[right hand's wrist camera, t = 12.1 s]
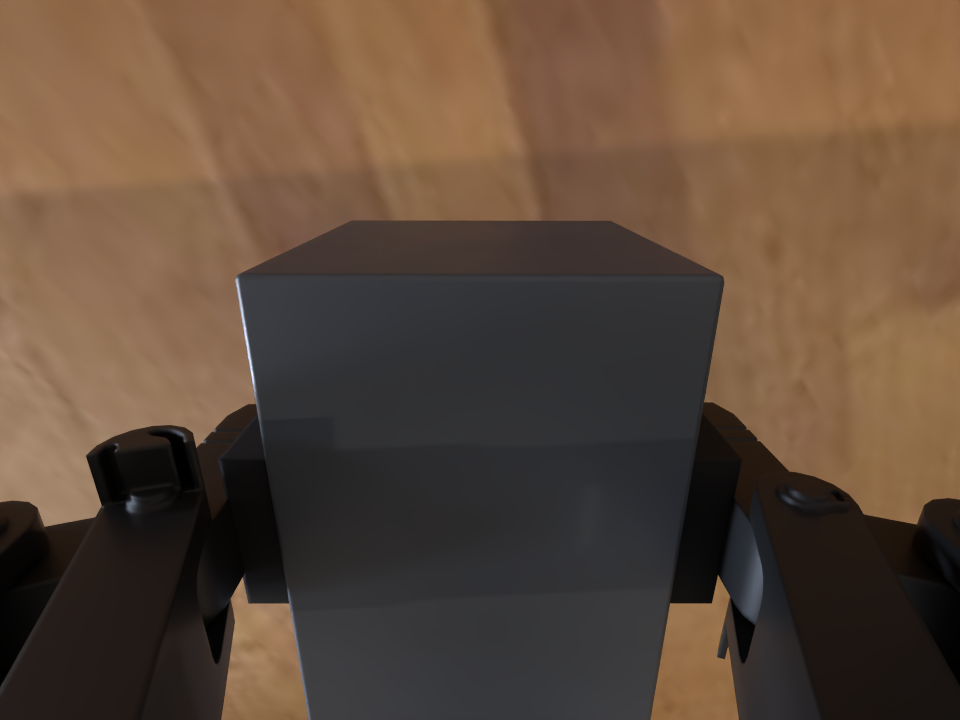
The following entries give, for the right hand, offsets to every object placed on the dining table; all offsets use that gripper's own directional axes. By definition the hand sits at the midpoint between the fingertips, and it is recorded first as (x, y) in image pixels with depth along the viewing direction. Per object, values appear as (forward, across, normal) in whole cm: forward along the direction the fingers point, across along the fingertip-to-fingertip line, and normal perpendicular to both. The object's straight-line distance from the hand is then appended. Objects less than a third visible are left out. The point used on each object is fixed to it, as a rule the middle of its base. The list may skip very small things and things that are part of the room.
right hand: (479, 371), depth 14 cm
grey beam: (-1, 0, -10) cm, 10 cm away
